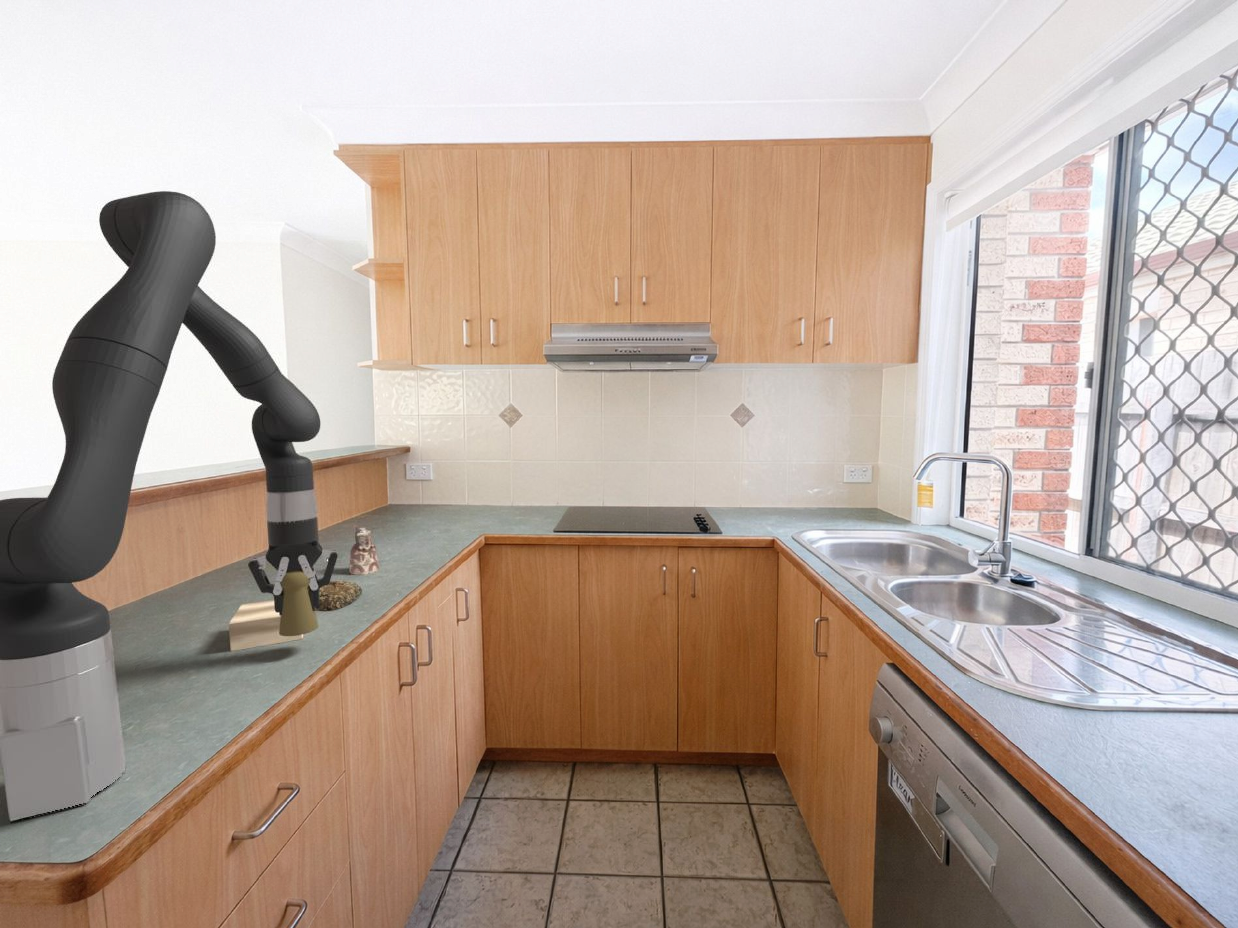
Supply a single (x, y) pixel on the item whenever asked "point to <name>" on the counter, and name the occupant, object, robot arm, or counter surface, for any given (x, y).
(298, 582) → the olive knobbed peg
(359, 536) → the figurine
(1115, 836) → the counter surface
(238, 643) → the ash block
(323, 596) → the bread roll
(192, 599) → the counter surface
